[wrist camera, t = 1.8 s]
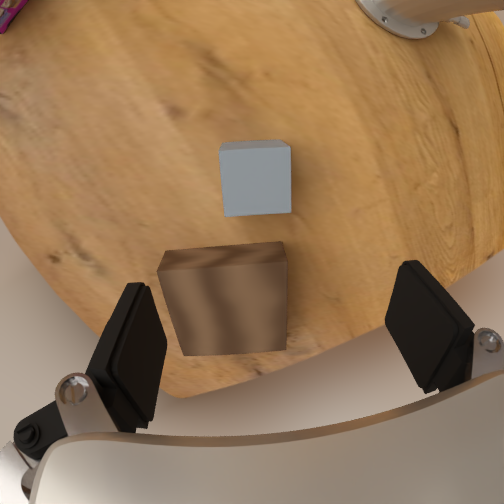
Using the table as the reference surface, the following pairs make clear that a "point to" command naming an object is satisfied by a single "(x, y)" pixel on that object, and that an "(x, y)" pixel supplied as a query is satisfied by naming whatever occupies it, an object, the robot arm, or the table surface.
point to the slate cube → (255, 177)
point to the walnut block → (227, 298)
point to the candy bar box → (9, 12)
